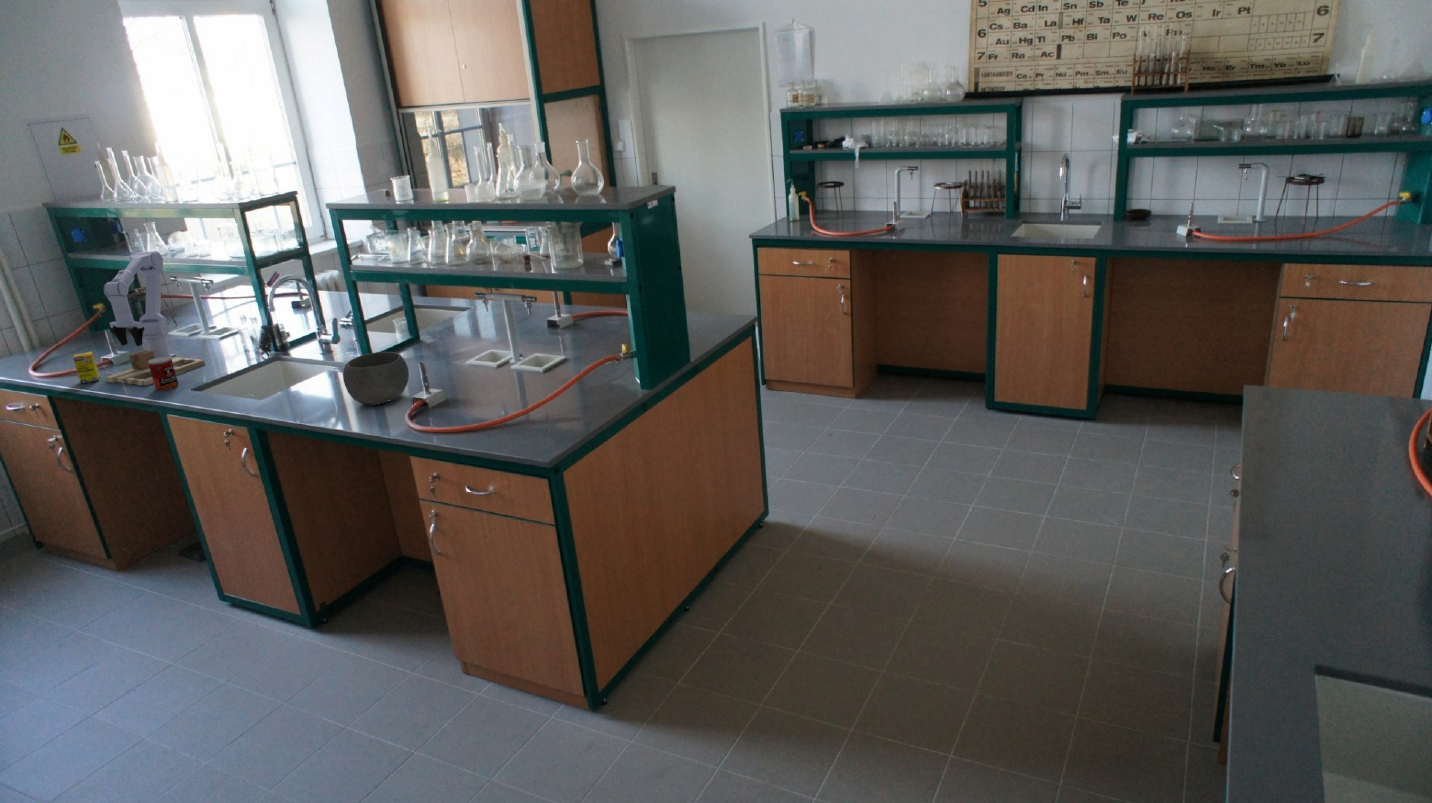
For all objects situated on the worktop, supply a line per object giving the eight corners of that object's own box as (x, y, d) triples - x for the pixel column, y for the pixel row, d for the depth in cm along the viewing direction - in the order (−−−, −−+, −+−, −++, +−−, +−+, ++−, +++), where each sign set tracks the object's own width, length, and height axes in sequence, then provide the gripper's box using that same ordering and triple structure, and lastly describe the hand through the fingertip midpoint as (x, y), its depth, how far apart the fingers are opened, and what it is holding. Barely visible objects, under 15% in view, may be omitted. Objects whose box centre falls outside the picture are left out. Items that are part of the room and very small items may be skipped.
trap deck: (107, 381, 359) (105, 376, 358) (166, 360, 381) (165, 356, 380) (146, 386, 350) (145, 381, 350) (205, 364, 373) (203, 359, 372)
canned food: (163, 392, 343) (154, 363, 339) (151, 389, 347) (143, 361, 343) (183, 385, 349) (175, 357, 345) (171, 382, 353) (163, 355, 349)
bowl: (378, 388, 332) (370, 348, 327) (425, 392, 324) (418, 351, 319) (335, 408, 314) (326, 367, 308) (384, 414, 306) (375, 371, 301)
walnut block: (133, 368, 366) (128, 354, 364) (146, 364, 371) (142, 349, 369) (143, 370, 364) (139, 355, 362) (157, 365, 369) (153, 350, 367)
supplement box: (81, 384, 357) (72, 357, 353) (82, 380, 362) (74, 353, 358) (99, 381, 360) (90, 354, 356) (100, 377, 365) (92, 351, 361)
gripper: (99, 314, 361) (109, 347, 366) (128, 314, 357) (137, 348, 362) (114, 309, 368) (124, 342, 373) (143, 310, 364) (152, 343, 368)
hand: (132, 345), depth 368 cm, fingers open, 7 cm apart
